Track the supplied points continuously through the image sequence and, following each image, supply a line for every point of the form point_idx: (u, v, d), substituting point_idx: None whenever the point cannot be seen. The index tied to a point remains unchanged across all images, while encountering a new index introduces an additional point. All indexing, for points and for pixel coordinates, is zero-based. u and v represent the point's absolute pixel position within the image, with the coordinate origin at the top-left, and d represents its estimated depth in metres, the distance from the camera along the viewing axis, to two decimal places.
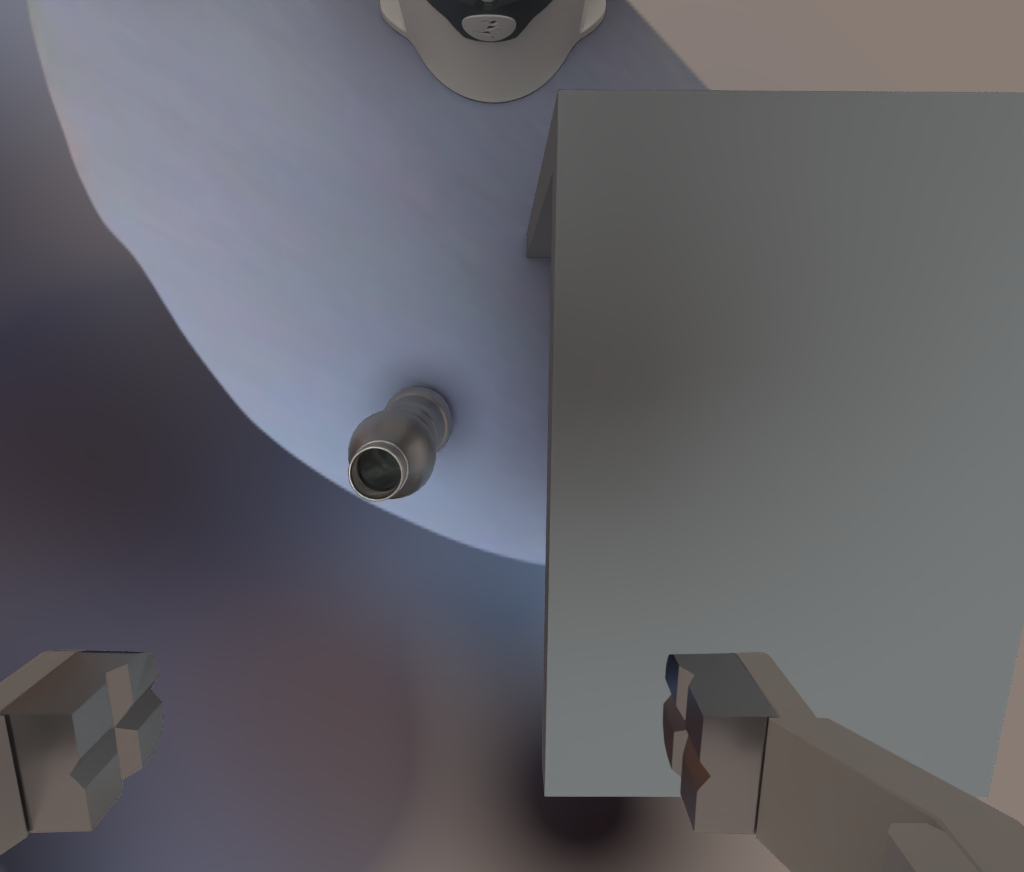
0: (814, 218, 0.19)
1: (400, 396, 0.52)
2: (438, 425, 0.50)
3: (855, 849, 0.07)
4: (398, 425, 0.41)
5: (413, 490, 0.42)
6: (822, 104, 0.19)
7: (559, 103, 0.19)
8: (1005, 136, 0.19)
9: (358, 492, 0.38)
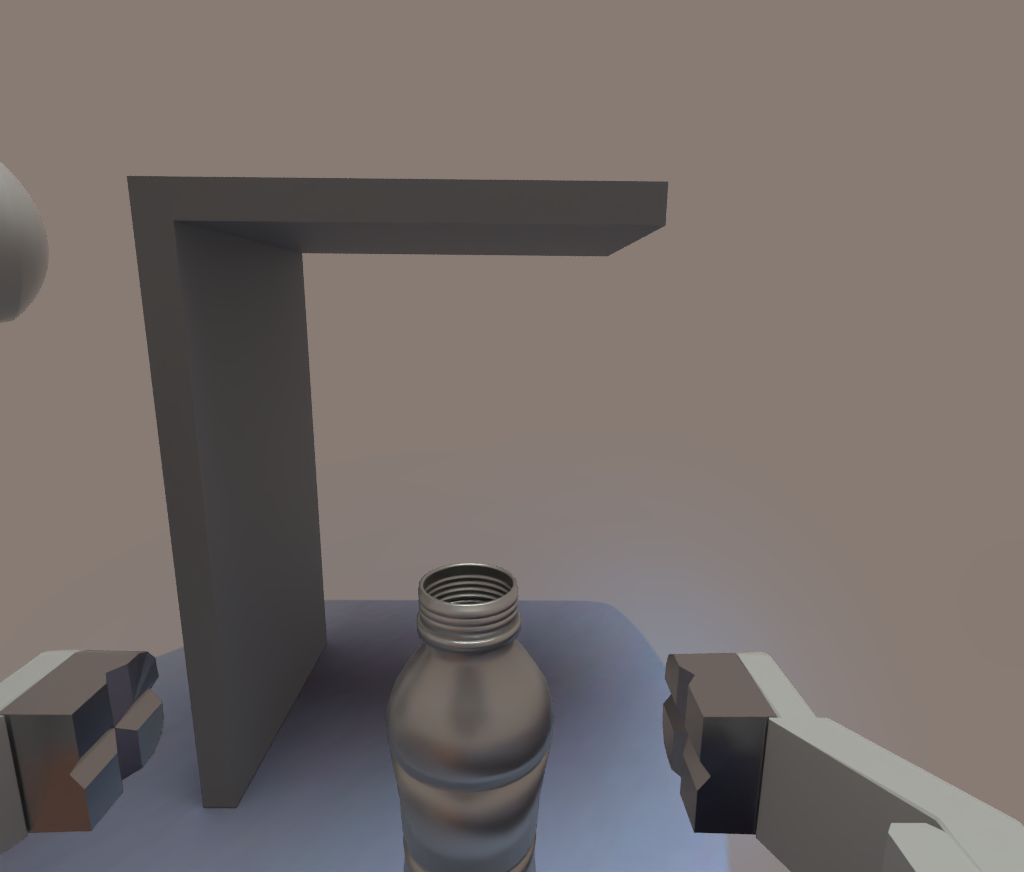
0: None
1: None
2: None
3: (855, 849, 0.07)
4: None
5: None
6: None
7: (135, 176, 0.28)
8: None
9: (500, 599, 0.21)
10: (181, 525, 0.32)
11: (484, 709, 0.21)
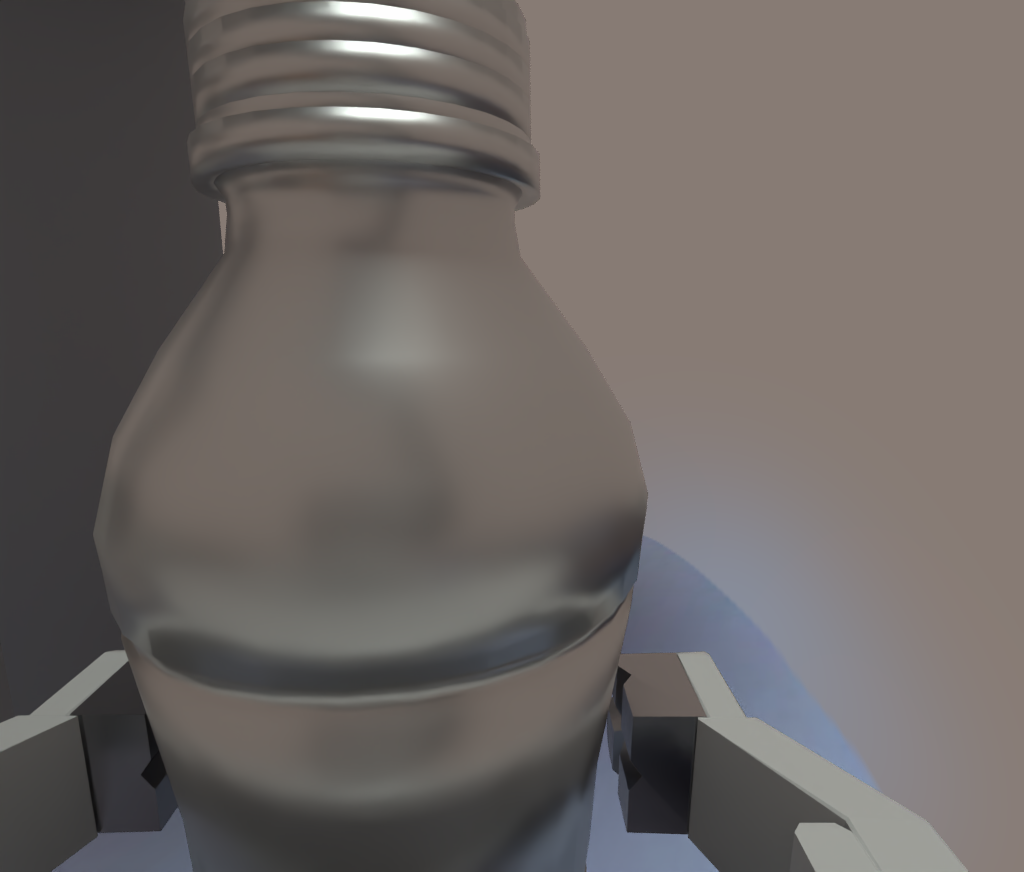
0: None
1: None
2: None
3: (775, 849, 0.07)
4: None
5: None
6: None
7: None
8: None
9: None
10: None
11: (408, 375, 0.05)
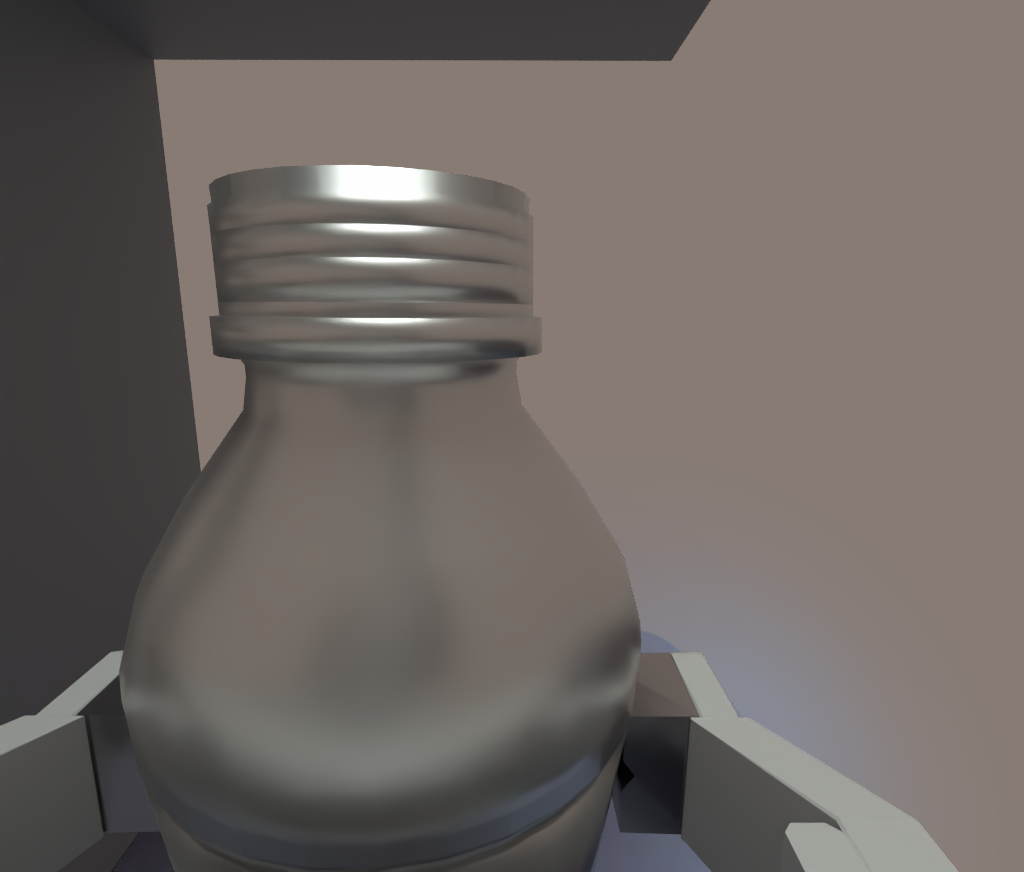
0: None
1: None
2: None
3: (767, 849, 0.07)
4: None
5: None
6: None
7: None
8: None
9: (457, 180, 0.06)
10: None
11: (382, 569, 0.06)
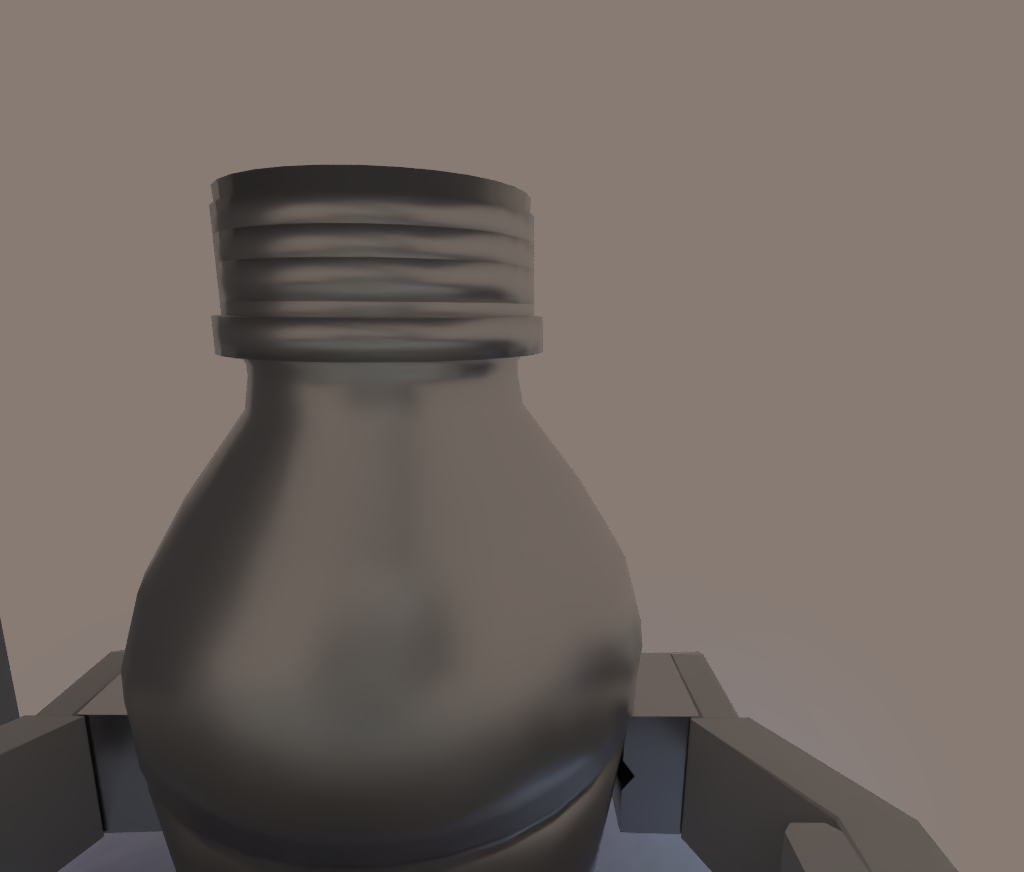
0: None
1: None
2: None
3: (767, 849, 0.07)
4: None
5: None
6: None
7: None
8: None
9: (459, 180, 0.06)
10: None
11: (385, 569, 0.06)
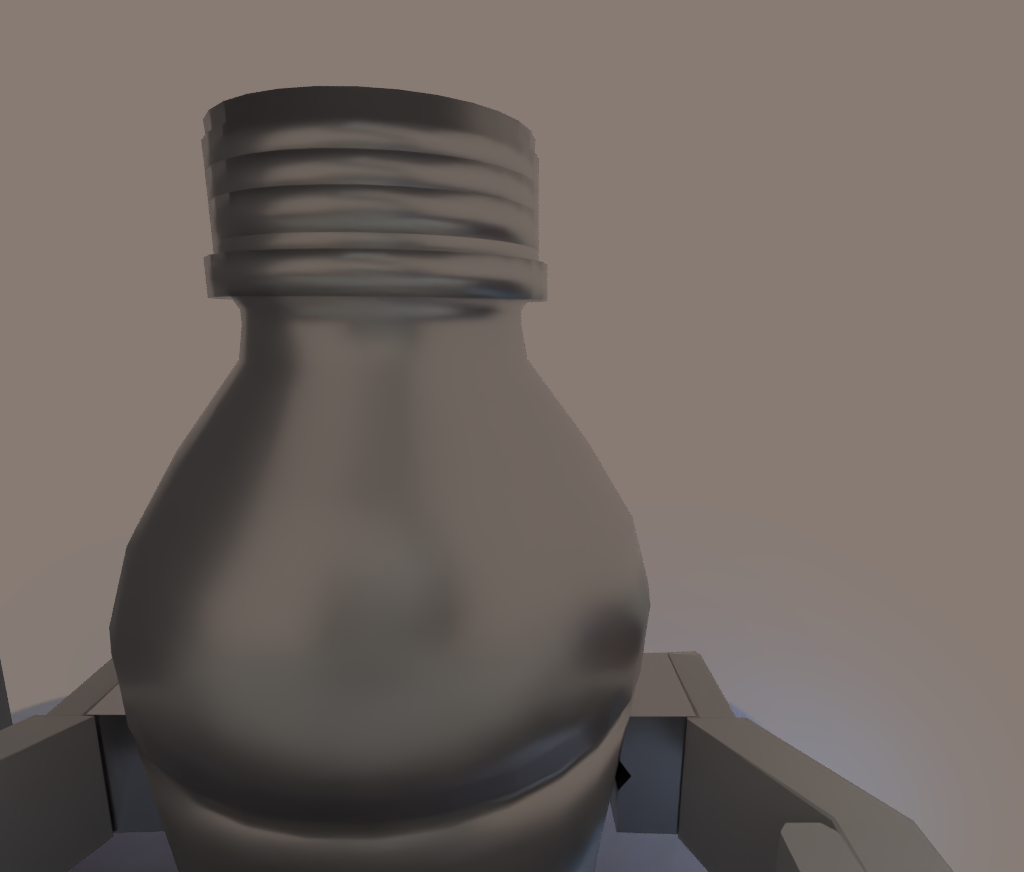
0: None
1: None
2: None
3: (763, 849, 0.07)
4: None
5: None
6: None
7: None
8: None
9: (461, 109, 0.06)
10: None
11: (384, 512, 0.05)
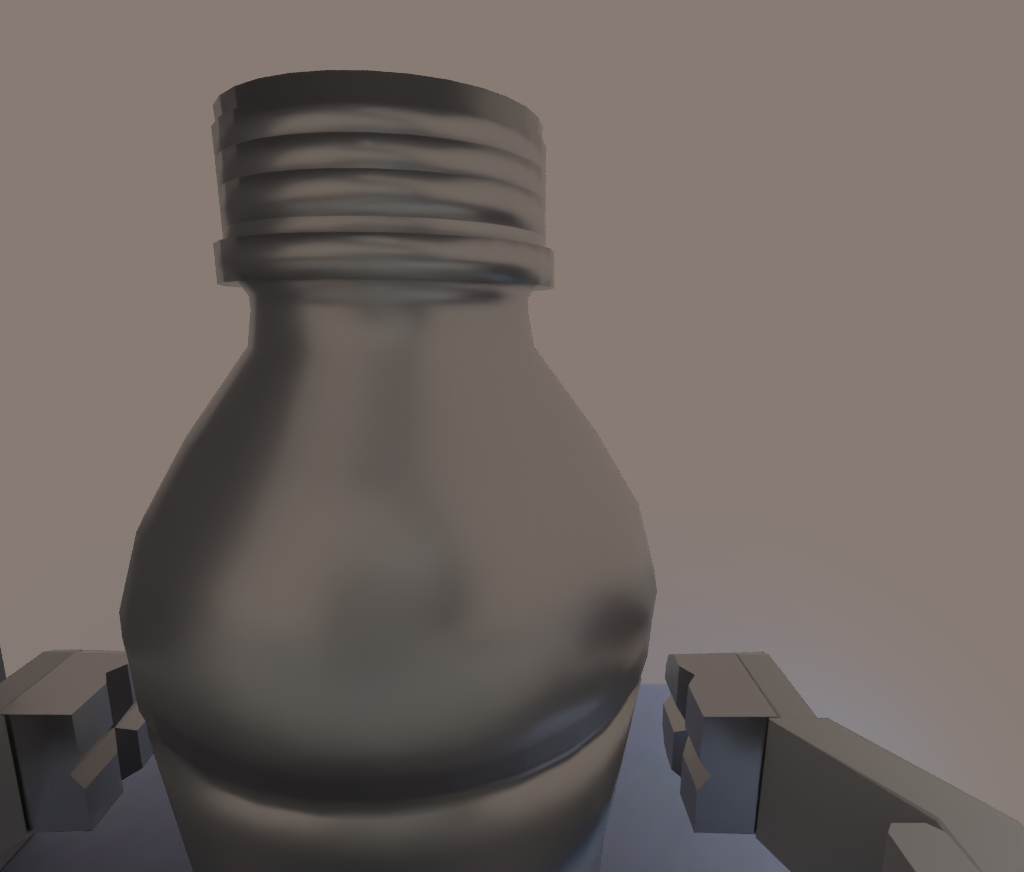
0: None
1: None
2: None
3: (855, 849, 0.07)
4: None
5: None
6: None
7: None
8: None
9: (471, 94, 0.06)
10: None
11: (394, 492, 0.05)
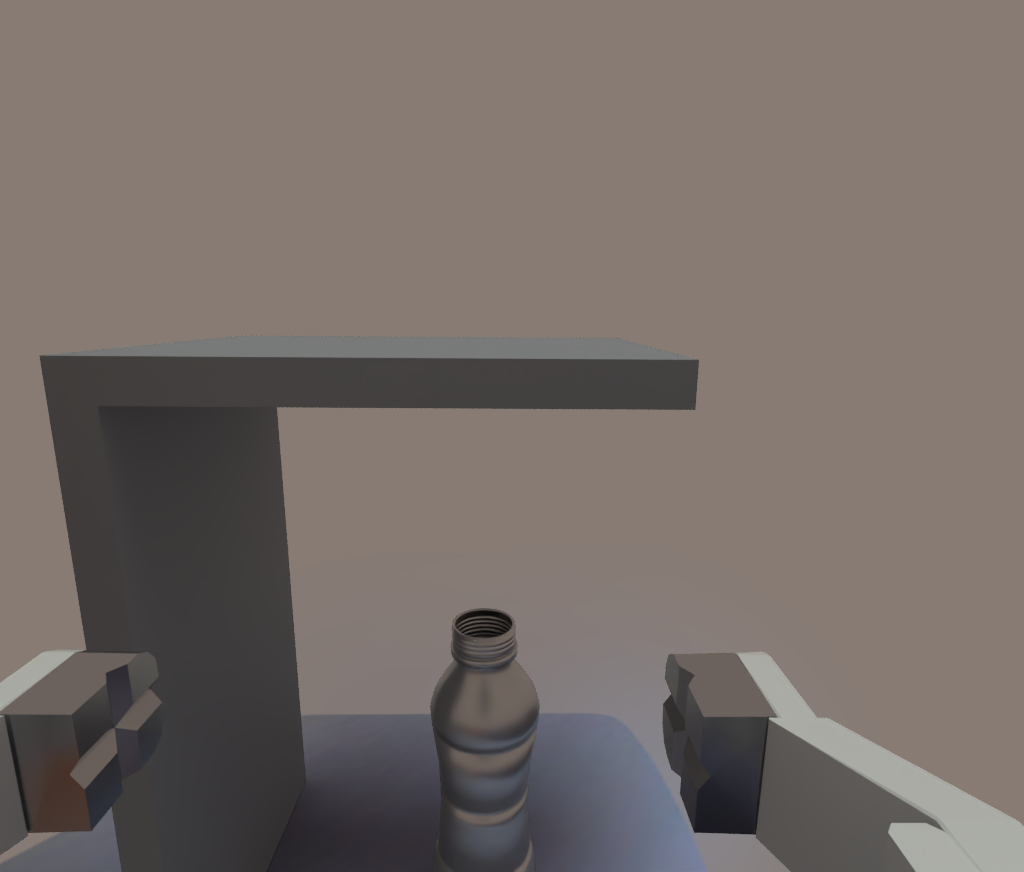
0: (234, 344, 0.32)
1: (437, 853, 0.37)
2: None
3: (855, 849, 0.07)
4: None
5: None
6: (168, 343, 0.31)
7: (50, 356, 0.23)
8: (236, 338, 0.37)
9: (501, 635, 0.33)
10: None
11: (489, 704, 0.33)
